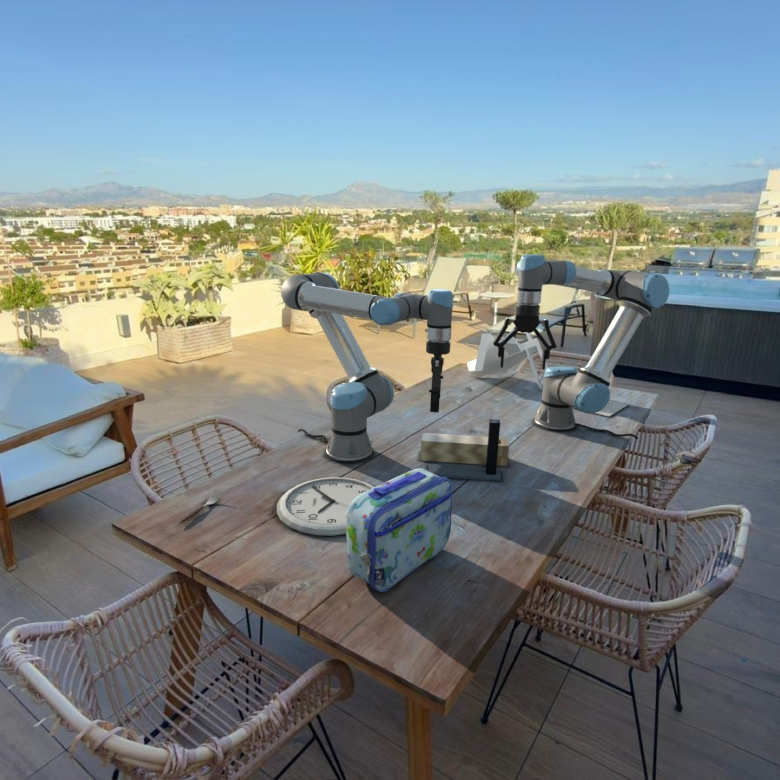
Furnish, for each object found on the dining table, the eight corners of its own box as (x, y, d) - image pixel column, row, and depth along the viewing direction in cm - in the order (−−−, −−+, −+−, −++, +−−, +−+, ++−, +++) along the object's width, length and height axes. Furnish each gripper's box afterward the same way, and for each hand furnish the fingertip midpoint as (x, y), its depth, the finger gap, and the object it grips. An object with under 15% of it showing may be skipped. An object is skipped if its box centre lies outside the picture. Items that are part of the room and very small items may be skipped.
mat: (498, 471, 165) (499, 468, 164) (500, 481, 158) (501, 478, 158) (429, 466, 167) (429, 463, 167) (428, 476, 160) (428, 473, 160)
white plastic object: (487, 418, 267) (468, 395, 242) (469, 346, 289) (449, 318, 264) (558, 394, 255) (545, 368, 230) (533, 321, 277) (518, 289, 252)
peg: (495, 470, 163) (499, 419, 158) (495, 474, 160) (500, 423, 155) (485, 469, 163) (489, 418, 158) (485, 474, 160) (490, 422, 155)
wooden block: (505, 457, 175) (507, 437, 173) (507, 466, 168) (509, 446, 166) (421, 451, 178) (422, 432, 176) (420, 460, 171) (421, 440, 169)
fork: (175, 524, 132) (174, 517, 132) (215, 495, 146) (215, 489, 146) (183, 526, 131) (182, 519, 131) (223, 497, 146) (222, 490, 145)
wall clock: (392, 527, 129) (268, 531, 127) (391, 533, 130) (269, 537, 127) (383, 473, 158) (282, 475, 155) (383, 478, 158) (282, 480, 156)
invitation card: (608, 416, 214) (573, 407, 224) (608, 416, 214) (573, 408, 224) (628, 404, 229) (594, 396, 238) (628, 405, 229) (594, 397, 238)
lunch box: (374, 604, 105) (375, 512, 99) (340, 579, 113) (339, 492, 106) (455, 552, 123) (460, 471, 117) (421, 533, 130) (424, 456, 124)
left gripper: (428, 332, 175) (425, 392, 181) (424, 348, 151) (421, 417, 157) (450, 333, 174) (447, 393, 180) (450, 349, 150) (446, 419, 157)
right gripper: (565, 303, 171) (558, 366, 177) (488, 301, 173) (483, 363, 180) (570, 306, 164) (562, 372, 170) (489, 304, 166) (485, 368, 173)
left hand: (435, 404), depth 169 cm, fingers open, 13 cm apart
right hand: (522, 367), depth 175 cm, fingers open, 13 cm apart
